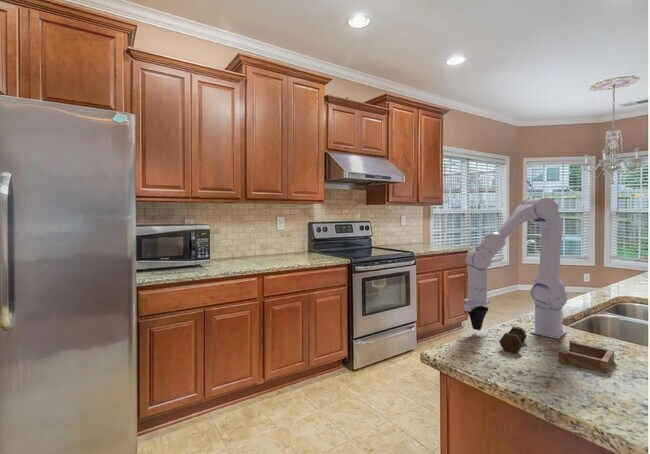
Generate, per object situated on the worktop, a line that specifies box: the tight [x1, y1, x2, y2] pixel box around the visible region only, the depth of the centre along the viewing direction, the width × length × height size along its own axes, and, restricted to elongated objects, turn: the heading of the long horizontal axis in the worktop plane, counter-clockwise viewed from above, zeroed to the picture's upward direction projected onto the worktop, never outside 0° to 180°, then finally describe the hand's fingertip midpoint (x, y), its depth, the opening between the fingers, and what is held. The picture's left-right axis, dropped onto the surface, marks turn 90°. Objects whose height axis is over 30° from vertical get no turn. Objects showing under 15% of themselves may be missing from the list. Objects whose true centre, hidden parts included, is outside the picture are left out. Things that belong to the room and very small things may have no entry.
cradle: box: [557, 339, 615, 374], centre depth 91 cm, size 13×10×3 cm
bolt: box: [498, 326, 527, 354], centre depth 103 cm, size 6×5×15 cm
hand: (476, 329), depth 112 cm, fingers closed
